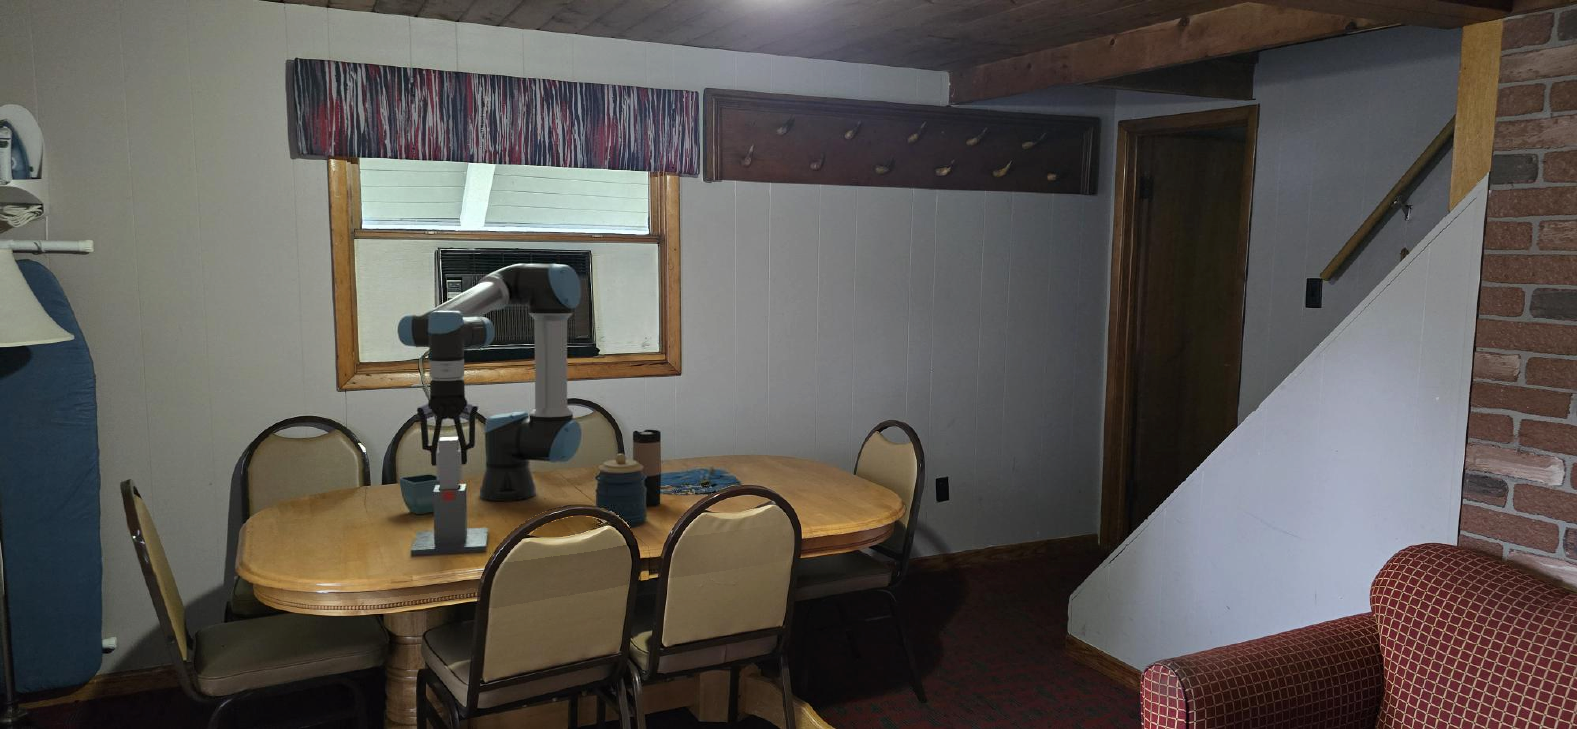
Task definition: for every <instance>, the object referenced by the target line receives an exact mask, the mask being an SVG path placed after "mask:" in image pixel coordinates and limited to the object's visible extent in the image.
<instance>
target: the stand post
mask: <svg viewBox="0 0 1577 729" xmlns="http://www.w3.org/2000/svg"><path fill="white" fill-rule="evenodd" d="M459 446H460V444H459V440H458V436H449V437H448V436H447V437H439V441H438V450H439V466H440V491H441V490H460V484H461V483H460V480H458V450H460V449H459V448H460V447H459Z"/></svg>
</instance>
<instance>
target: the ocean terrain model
mask: <svg viewBox="0 0 1577 729" xmlns="http://www.w3.org/2000/svg"><path fill="white" fill-rule="evenodd" d="M729 474H731V473H730V472H728V471H726V470H723V469H715V467H713V466H709V467H708V468H698V469H696V468H695V469H691V470H685V471H684V470H682V471H673V472H661V486H665V485H670V486H674V485H675V486H674V487H677V488H672V489H673V490H671V491H667V490H665V491H663V492H662V491H661V492H660V494H667V493H669V494H668V495H671V494H670V493H674V494H676V493H686V492H685V491H682V490H690V492H691V493H694V492H693V491H692V489H695V493H699V494H701V493H702V494H704V493H715V492H714V491H716V490H719V489H722V488H725V487H728V486H731V485H740V484H741V481H740V480H739V479H738V478H737V477H736V476H734V475H729ZM681 485H686V486H687V487H689V485H692V486H700V485H701V486H702V487H704V488H701V487H691V488H686V487H684V486H681ZM703 485H705V486H706V485H707V486H706V487H705V486H703ZM712 485H714V486H715V485H716V486H715V487H712V488H708V487H710V486H712ZM670 486H668V487H661V490H664V489H669V487H670ZM680 486H681V487H684V488H681V487H680ZM670 488H671V487H670ZM677 489H678V490H677ZM697 489H700V490H699V491H698V490H697ZM701 489H705V491H706V492H705V491H703V490H701ZM706 489H707V490H706ZM676 491H677V492H676Z"/></svg>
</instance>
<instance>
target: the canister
mask: <svg viewBox="0 0 1577 729" xmlns="http://www.w3.org/2000/svg"><path fill="white" fill-rule="evenodd" d="M597 469H598V470H599V473H597V474H596V475H595V476H594V479H595V481H596V488H595V489H594V490H595V507H596V506H597V507H599V508H604V509H606V510H608V511H612V512H614V513H615V514H616V515H619V517H620V518H621V519H623V520H624V521H625V522H627V524H628V525H629V526H631V527H630V528H633V527H638V526H641V525H643V524H646V522H647V517H648V511H647V507H646V490H647V488H646V487H645V479H646V478H647V475H646V474H645V473H643V472H642V469H643V466H642V465H641V464H639V463H638V462H637V461H634V460H633V459H627V457H626V454H624V453H618V454H617V455H616V456H615V459H611V460H606V461H605V462H604V463H602V464H601V465H599V466H598V467H597ZM596 520H597V521H598V522H600V523H598V524H601V523H603V522H602V521H601V520H599V519H596V518H595V521H596ZM598 524H597V525H598Z"/></svg>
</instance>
